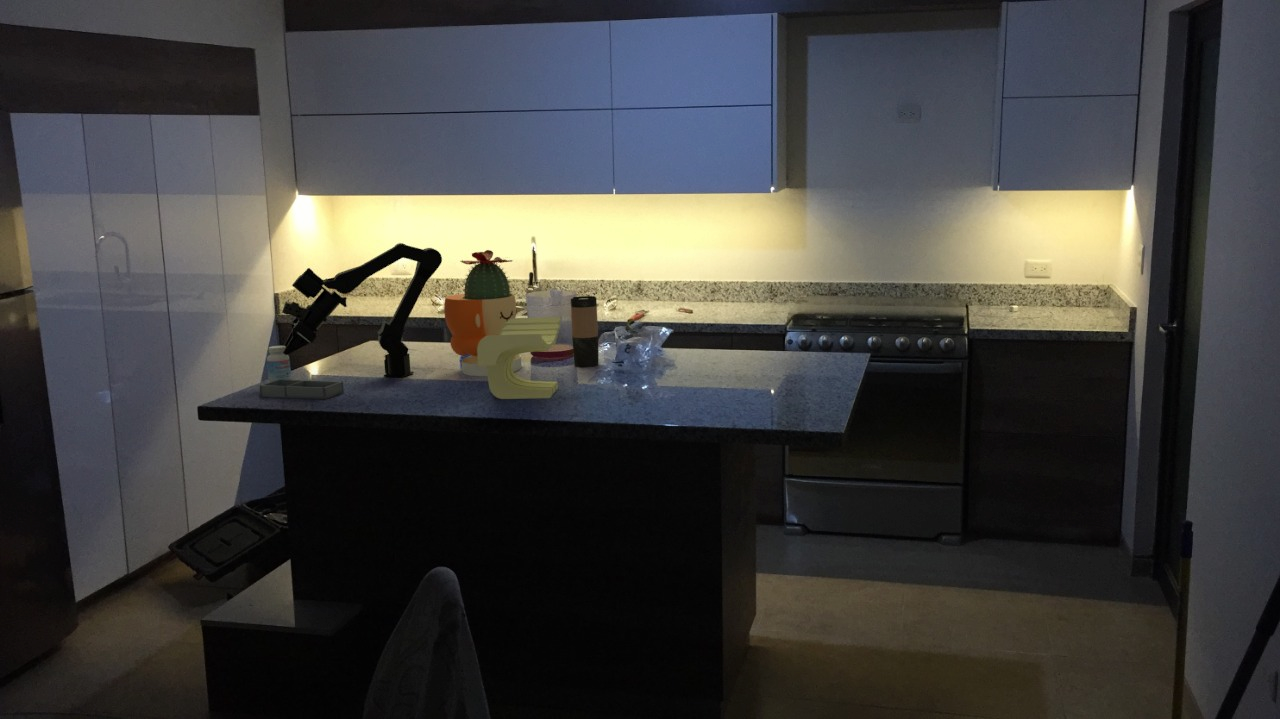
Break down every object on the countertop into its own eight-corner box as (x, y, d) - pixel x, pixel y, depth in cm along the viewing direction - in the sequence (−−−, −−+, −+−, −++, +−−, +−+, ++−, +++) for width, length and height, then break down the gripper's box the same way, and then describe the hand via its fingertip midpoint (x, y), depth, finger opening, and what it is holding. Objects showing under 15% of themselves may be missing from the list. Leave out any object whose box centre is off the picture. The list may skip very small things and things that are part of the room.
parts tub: (343, 392, 296) (342, 381, 296) (325, 399, 288) (324, 387, 288) (280, 390, 303) (279, 379, 302) (260, 396, 295) (259, 385, 295)
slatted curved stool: (505, 382, 302) (502, 318, 299) (563, 381, 301) (560, 317, 298) (480, 406, 273) (476, 335, 270) (544, 405, 271) (540, 334, 268)
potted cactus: (529, 362, 333) (523, 246, 326) (508, 376, 311) (501, 252, 305) (461, 362, 336) (454, 248, 330) (436, 376, 315) (427, 254, 309)
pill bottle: (279, 389, 304) (275, 349, 303) (264, 387, 308) (260, 347, 306) (296, 385, 310) (293, 345, 308) (281, 383, 313) (278, 344, 311)
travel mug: (604, 364, 324) (601, 297, 320) (582, 368, 319) (579, 299, 316) (590, 361, 330) (587, 295, 326) (568, 364, 326) (565, 297, 322)
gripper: (297, 287, 315) (260, 329, 314) (298, 293, 297) (260, 337, 296) (328, 312, 319) (292, 353, 317) (331, 320, 301) (293, 363, 300)
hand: (284, 351), depth 308 cm, fingers open, 9 cm apart
